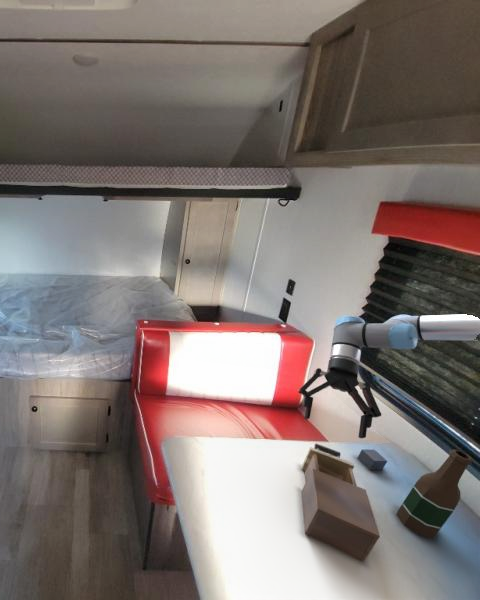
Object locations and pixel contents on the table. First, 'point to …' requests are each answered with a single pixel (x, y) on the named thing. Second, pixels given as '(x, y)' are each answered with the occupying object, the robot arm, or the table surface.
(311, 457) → the drawer
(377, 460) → the block
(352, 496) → the cabinet
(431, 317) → the robot arm
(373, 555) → the table surface
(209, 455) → the table surface
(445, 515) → the beer bottle
